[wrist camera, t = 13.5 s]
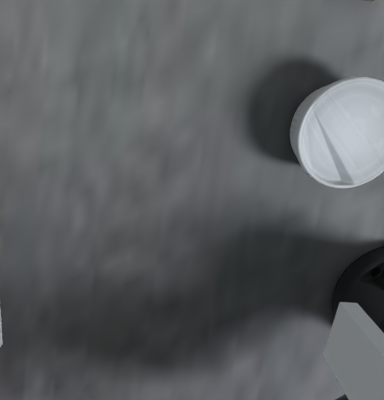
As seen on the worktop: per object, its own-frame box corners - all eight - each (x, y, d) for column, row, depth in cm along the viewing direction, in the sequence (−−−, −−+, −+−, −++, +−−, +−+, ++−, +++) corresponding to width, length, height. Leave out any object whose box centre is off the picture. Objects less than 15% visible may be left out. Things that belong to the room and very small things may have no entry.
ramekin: (263, 154, 39) (278, 165, 34) (311, 58, 36) (335, 55, 31) (343, 189, 42) (368, 204, 37) (394, 102, 38) (429, 105, 34)
